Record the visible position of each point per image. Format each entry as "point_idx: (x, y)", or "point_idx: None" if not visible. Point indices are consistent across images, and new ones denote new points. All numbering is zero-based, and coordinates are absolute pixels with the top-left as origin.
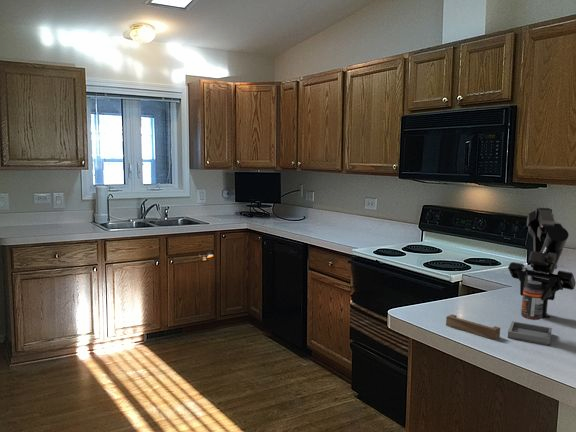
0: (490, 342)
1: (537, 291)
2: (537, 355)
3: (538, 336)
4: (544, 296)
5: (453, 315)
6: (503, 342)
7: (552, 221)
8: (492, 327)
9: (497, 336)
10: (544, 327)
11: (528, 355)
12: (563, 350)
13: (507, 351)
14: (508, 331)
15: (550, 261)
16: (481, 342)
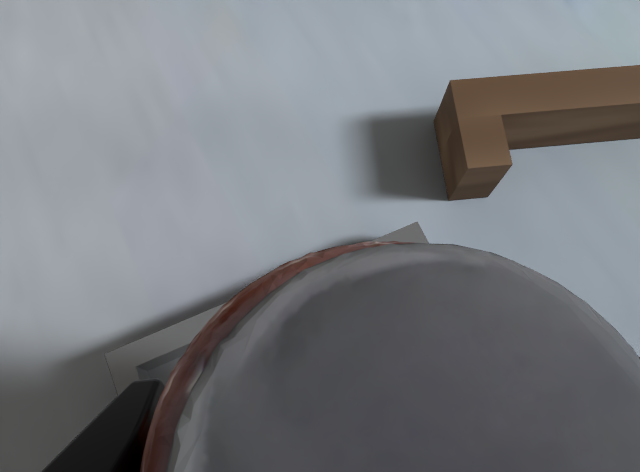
0: (414, 59)
1: (225, 336)
2: (108, 102)
3: (200, 324)
4: (98, 423)
5: None
6: (366, 128)
7: None
8: (501, 118)
9: (445, 161)
10: None
11: (147, 57)
12: (11, 351)
13: (261, 14)
14: (415, 223)
15: None
16: (444, 15)
